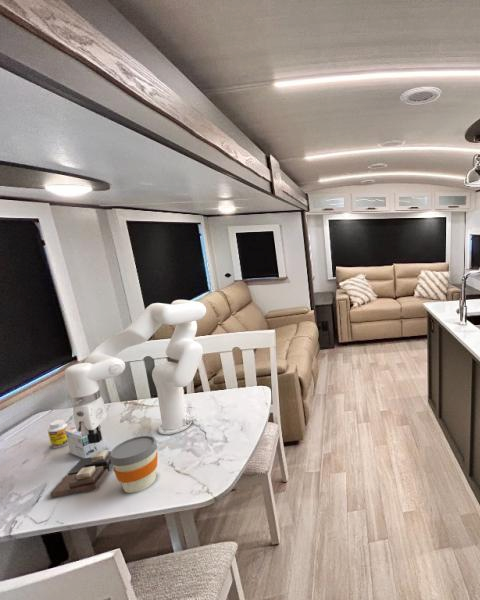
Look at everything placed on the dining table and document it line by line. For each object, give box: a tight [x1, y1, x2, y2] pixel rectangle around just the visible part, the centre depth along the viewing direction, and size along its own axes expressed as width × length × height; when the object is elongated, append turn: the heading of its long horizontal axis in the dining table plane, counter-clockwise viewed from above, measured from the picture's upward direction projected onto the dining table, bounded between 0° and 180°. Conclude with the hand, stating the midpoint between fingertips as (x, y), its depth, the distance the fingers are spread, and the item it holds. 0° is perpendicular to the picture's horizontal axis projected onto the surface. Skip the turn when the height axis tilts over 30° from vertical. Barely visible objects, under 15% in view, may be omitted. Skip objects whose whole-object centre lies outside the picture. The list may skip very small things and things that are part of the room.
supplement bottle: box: [47, 419, 69, 448], centre depth 131 cm, size 6×6×10 cm
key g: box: [76, 466, 96, 480], centre depth 111 cm, size 4×4×2 cm
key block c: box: [67, 450, 114, 476], centre depth 119 cm, size 12×8×4 cm, turn 109°
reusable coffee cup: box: [110, 435, 158, 494], centre depth 111 cm, size 13×13×15 cm
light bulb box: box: [65, 425, 106, 459], centre depth 127 cm, size 11×7×11 cm, turn 71°
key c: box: [91, 449, 109, 462], centre depth 119 cm, size 4×4×2 cm
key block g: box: [50, 466, 109, 499], centre depth 111 cm, size 12×8×4 cm, turn 109°
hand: (95, 441), depth 117 cm, fingers closed
